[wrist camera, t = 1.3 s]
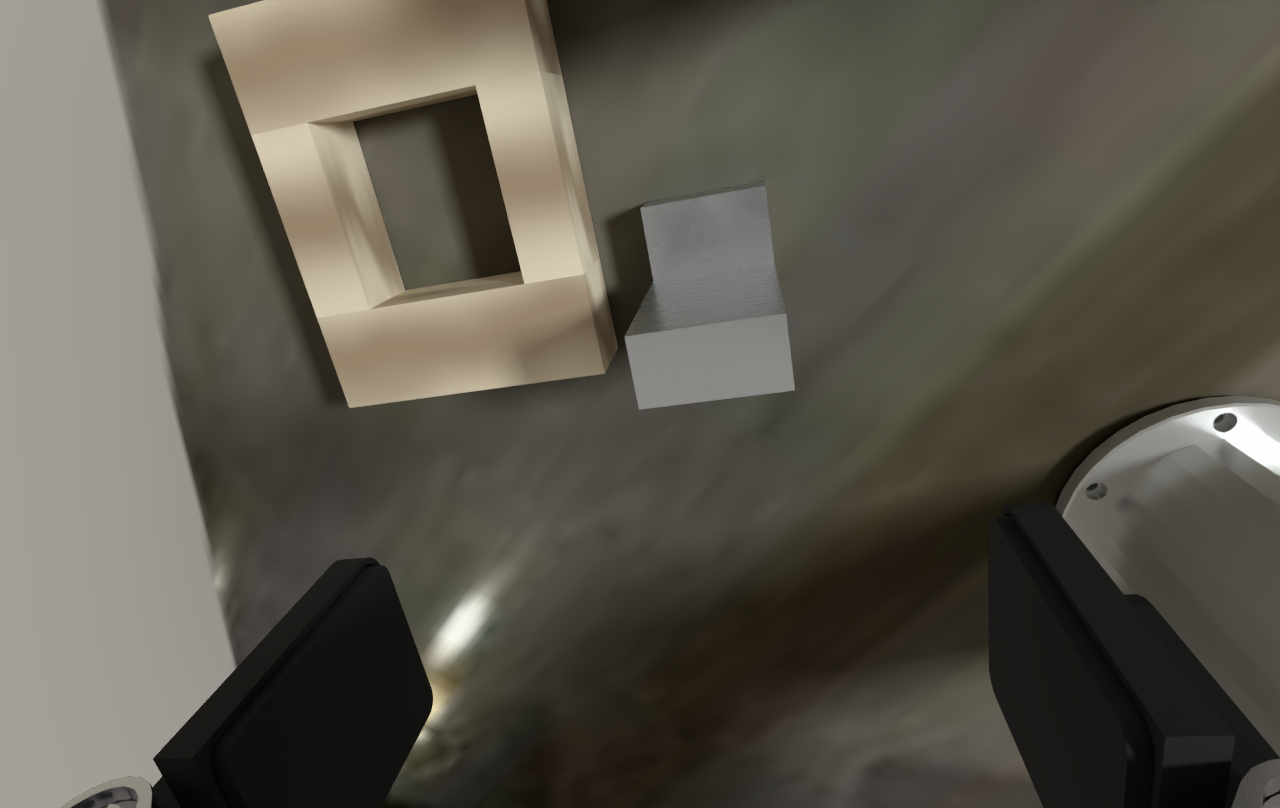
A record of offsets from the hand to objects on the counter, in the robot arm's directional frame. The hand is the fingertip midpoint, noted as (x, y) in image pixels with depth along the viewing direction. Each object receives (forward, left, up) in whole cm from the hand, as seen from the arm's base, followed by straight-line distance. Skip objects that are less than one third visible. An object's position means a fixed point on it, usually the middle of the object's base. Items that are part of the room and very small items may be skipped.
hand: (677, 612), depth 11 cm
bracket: (+1, 0, -22) cm, 22 cm away
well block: (+6, +11, -22) cm, 25 cm away
